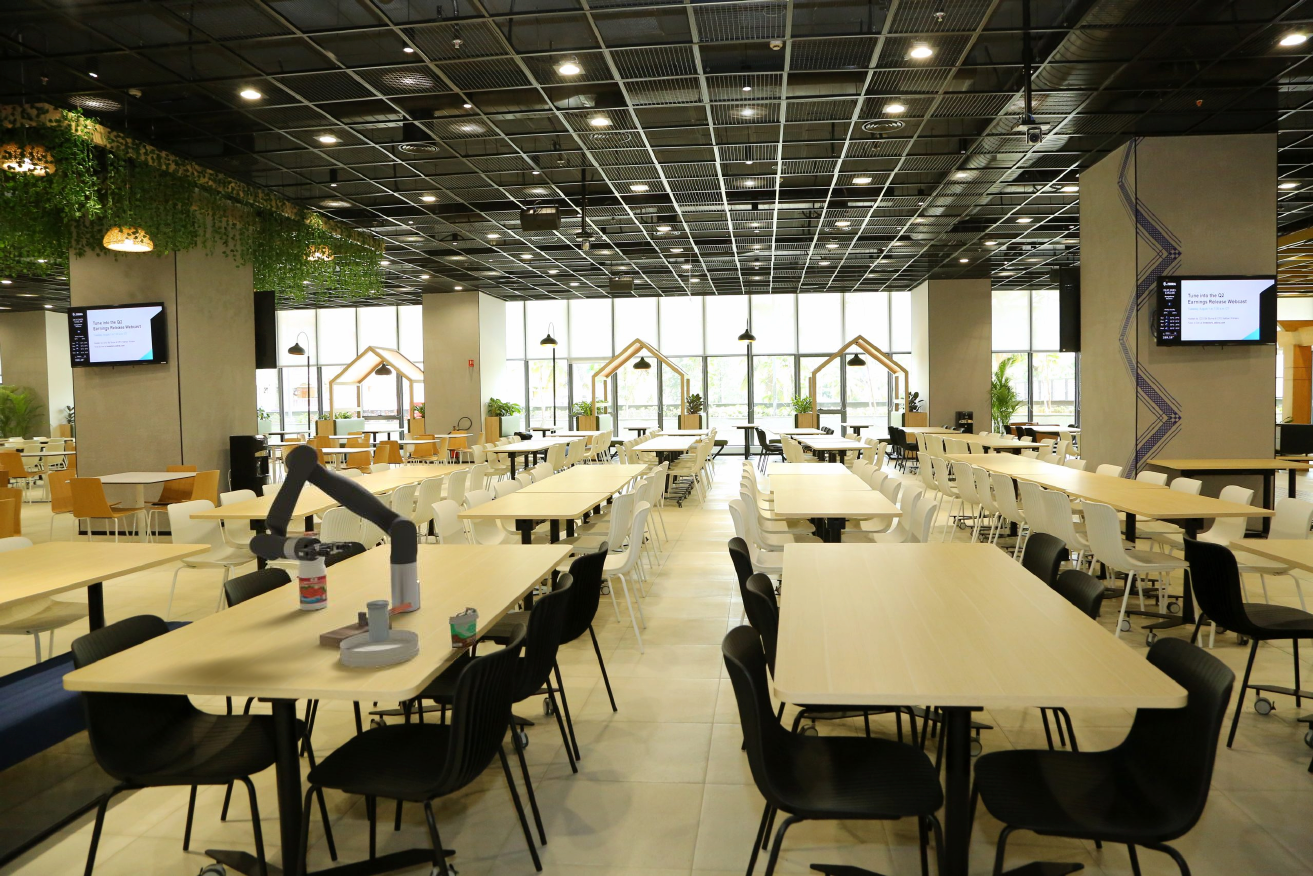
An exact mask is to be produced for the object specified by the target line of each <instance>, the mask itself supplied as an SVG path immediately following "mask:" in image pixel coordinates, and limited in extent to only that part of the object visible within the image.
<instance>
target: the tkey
mask: <svg viewBox="0 0 1313 876" xmlns="http://www.w3.org/2000/svg"><path fill="white" fill-rule="evenodd" d="M409 608H412V605H411V602H409V603H406V604H403V605H400V606H397V607H394V608H392V607H391V608H390V609H389V608H388V617H389V616H392V615H395V614H397V613H402V612H401V611H403V610H406V609H409ZM367 624H369V623H368V616H367Z"/></svg>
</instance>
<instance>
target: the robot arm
mask: <svg viewBox="0 0 1313 876" xmlns="http://www.w3.org/2000/svg"><path fill="white" fill-rule="evenodd" d="M284 457H285V458H284V465H285V467H286V469H287V473H286V476H285V479H284V481H283V483H282V485H281V487H280V488H279V490H278V492H277V494H276V495H275V498H274V500H273V502H272V504H270V505H271V506H270V507H269V511H268V513H267V515H266V518H265V521H264V526H265V527H266V528H267V529H268V530H269V532H270V533H267V532H265V533H258V534H256V535H254V536H253V537H252V538H251V539H250V541H249V544H248V546H249V550H250V552H251V553H253V555H256V556H258V557H261V558H263V559H265V560H267V561H270V562H271V561H274V562H275V561H277V560H278V559H282V560H292V561H298V562H299V561H315V560H317V559H318V558H319V557H325V558H330V557H331V555H332V554H334V555H335V554H337V553H339V552H352V551H353V544H352V543H348V541H346V540H345V541H334V540H333V541H331V542H329V541H328V542H327V541H323V542H322V541H321V539H320V538H318V537H317V538H316V537H304V536H287V535H288V534H287V533H288V527H289V524H290V522H291V519H292V517H293V516H292V515H293V514H294V512H295V509H296V506H297V504H298V501H299V498H300V495H301V492H302V491H303V488H304V487H305V484H306V483H309V484H311V485H312V486H315V487H316V488H318V489H319V490H321V492H323V494H325V495H327V496H328V497H330V498H331V499H333V500H334V501H335V502H337V503H338V504H340V505H341V506H342V507H343V508H345V509H347V510H348V511H350V512H351V513H353V514H355V515H357V516H358V517H361V518H363V519H365V520H367V521H369V522H371V523H372V524H374V526H376V527H378V528H379V529H380V530H382V531H383V532H384V533H385V534H386V535H387V536H388V537H389V538H390V554H389V564H390V565H389V566H390V569H389V571H390V590H391V591H390V593H391V594H390V595H391V608H394V607H397V606H400V605H403V604H406V603H409V602H411V605H412V608H409V609H406V610H403V611H401V612H400V613H407V612H408V613H410V612H413V611H416V610H418V609H419V608H421V606H422V605H421V586H420V584H421V582H420V580H418V579H419V578H418V561H417V560H418V553H419V552H418V549H419V548H418V528H417V525H416V524H415V523H414V522H413V520H411V519H410V518H407V517H406V516H403V515H401V514H400V513H398V512H397V511H394V510H392V509H390V508H389V507H388V506H386V505H385V504H384V503H382V502H381V500H380V499H378V497H376V496H375V495H374V494H373V493H372V492H371V491H370V490H368V489H367V488H365V487H364V486H363V485H362V484H360V483H358V482H357V481H355V480H353V479H351V478H350V477H348V476H345V475H342V474H340V473H337V472H335V471H332V470H330V469H328V468H327V467H325V466H324V465H323V464H321V463H320V462H319V454H318V451H317V449H316V448H315V447H313V446H312V445H310V444H306V443H305V444H299V445H297V446H294V448H292V449H291V450H290V451H289V452H287V454H286V455H285V456H284Z"/></svg>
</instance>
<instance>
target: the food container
mask: <svg viewBox="0 0 1313 876" xmlns="http://www.w3.org/2000/svg"><path fill="white" fill-rule="evenodd" d="M479 615H480V614H479V613H478V609H476V608H475V607H465V610H464V611H462V612H459V613H457V614H456V615H455V616H449V619H448V625H449V627H450V628H449V629H450V638H451V649H452V648H457V649H456V650H461V649H466V648H471V647H473V646H475V645H476V642H477V641H476V640H477V623H478V622H477V621H478V619H479V617H480V616H479Z"/></svg>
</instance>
